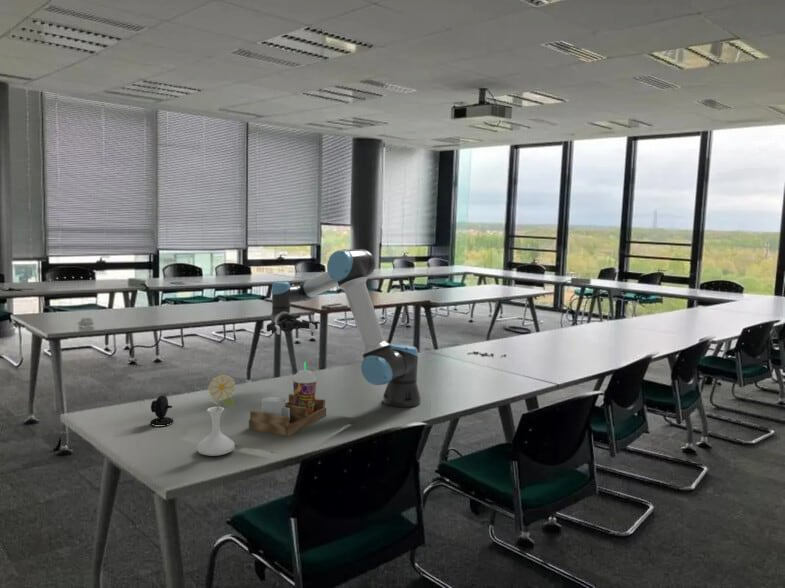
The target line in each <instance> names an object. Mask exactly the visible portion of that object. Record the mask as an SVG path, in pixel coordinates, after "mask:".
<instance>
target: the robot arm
mask: <svg viewBox="0 0 785 588" xmlns="http://www.w3.org/2000/svg"><path fill="white" fill-rule="evenodd" d="M375 268H376V259H375V257H374V255H373V254H372V253H371V252H370V251H369V250H367V249H363V248H358V249H357V248H356V249H353V248H352V249H340V250H336V251H334V252H332V253H331V254H330V256H329V257H328V260H327V263H326V271H324V272H323V273H321V274H319V275H316V276H314V277H312V278H310V279H308V280H306V281H304V282H302V283H298V284H290V282H289V281H273V282H272V284H271V285H272V286H271V301H272V302H271V305H272V306H271V307H272V308H271V314H270V319H271V322H269V323H268V324H267V325H266V332H271V334H277V336H278V335H281V331H282V332H283V333H289V332H292V331H294V330H300V329H305V330H308V331H310V332H311V333H314V334H315V333H316V330H318V329H319V325H318V324H319V323H318V322H316V321H314V320H312V321H309V320H305V319H302V320H299V319H296V317H295V316H294V315H293V314H292V313H291V304H292V303H299V302H308V301H311V300H313V299H315V296H318V295H321V294H323V293H325V292H327V291H330V290H332V289H334V288H339V289H341V290H343V291H344V294H345V297H346V299H347V302H348V306H349V308H350V310H351V311H350V312H351V313H352V318H353V319H354V322H355V325H356V329H357V331H358V334H359V337H360V340H361V342H362V343H361V344H362V345H363V351H362V354H361V356H362V358H363V359H362V362H361V366H360V370H361V373H362V376H363V378H364V379H365V381H367V382H368V383H369V384H371V385H373V386H383V385H386V387H385V390H384V393H383V395H382V401H383V403H384V404H385V405H388V406H392V407H398V408H411V407H416V406H419V405H420V404H421V402H422V401H421V398H422V397H421V393H420V389H419V387H418V364H419V363H418V362H419V361H418V360H419V352H418V348H417V347H416V346H413V345H406V344H396V343H395V344H393V343H392V344H391V343H389V342H387V341H386V339H385V336H384V332H383V330H382V327H381V325H380V321H379V318H378V316H377V313H376V310H375V307H374V304H373V301H372V298H371V296H370V293H369V289H368V288H367V285H366V283H367V281H368V277H369V276H370V275H372V274H373V273H374V270H375Z"/></svg>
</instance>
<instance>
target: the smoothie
mask: <svg viewBox="0 0 785 588" xmlns="http://www.w3.org/2000/svg"><path fill="white" fill-rule="evenodd" d="M292 381H293V382H292V385H293V394H294V406H299V407H305V408H308V415H310V414H312V413H313V412H314V405H315V398H316V390H317V378H316V376H315V374H314V373H313V371H311V370H309V369H307V362H306V361H304V362H303V369H301V370H298V371H297V372H296V373H295V375H294V378H292Z"/></svg>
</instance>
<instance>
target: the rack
mask: <svg viewBox="0 0 785 588" xmlns="http://www.w3.org/2000/svg"><path fill="white" fill-rule="evenodd" d="M285 407H287V408H290V421H289V417H286V416H280V415H275V414H269V413H264V412H262V411H258V410H252V409H251V410H250V412H249V413H250V415H249V419H248V429H249V430H253V431H254V430H255V431H261V432H265V433H270V434H274V435H275V434H276V435H280V436H286V437H290V436H292V435H294V434H295V433H297V432H299V431H301V430H303V429H304V428H307V427H309V426H310V425H312V424H314V423H316V422H317V421H320V420H321V419H324V418H325V417H326V416H327V407H326V399H324V398H317V397H315V405H314V412H313V413H312V414H310V415H308V408H305V407H299V406H294V393H290V394H288V401H287V402H285Z"/></svg>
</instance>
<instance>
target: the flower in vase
mask: <svg viewBox="0 0 785 588" xmlns="http://www.w3.org/2000/svg"><path fill="white" fill-rule="evenodd" d="M236 388H237V385H236V382H235V379H234V378H232V377H231V376H229V375H225V374H221V375H217V376H216V377H213V378H212V380H211V381H210V382H209V385H208V388H207V390H208V393H209V394H210V395H209V396H210V397H211V398H213V399H214V400H217V401H221V402H220V403H219V404H218V403H217V402H216V401H213V400H212V399H209V398H207V400H208V401H210V402H211V403H212V404H215V405H217V406H212V407H211V406H210V407H208V408H207V409H206V410H207V412H208V413H209V416H210V419H211V431H210V433H209V434H208V435H207V436H205V438H203V439H202V440H201V441H200V442H199V443H198V444H197V447H196V451H197V452H198V453H199V454H201V455H204V456H208V457H209V456H210V457H211V456H212V457H215V456H222V455H226V454H228V453H230V452H232V451H233V450H234V449H235V447H236V445H235V442H234V441H233V440H232V439H231V438H230V437H228V436H226V435H225V434H224V433H222V431H221V428H220V426H221V425H220V423H221V416H222V413H223V412H224V410H225V408H224V407H221V405H222V403H223V404H224V406H225V407H227V408H230V407H234V406H236V403H235V402H234V401H233V400H232V398H230V397H232V396H233V393H234V392H235V390H236Z"/></svg>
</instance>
